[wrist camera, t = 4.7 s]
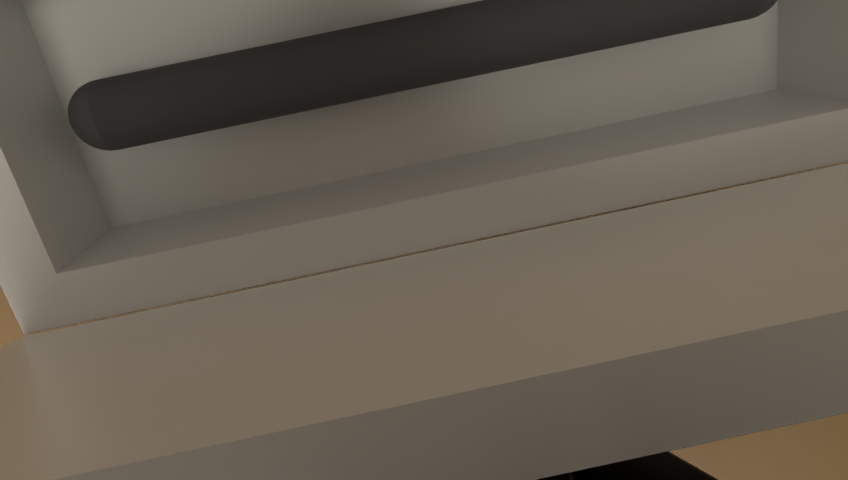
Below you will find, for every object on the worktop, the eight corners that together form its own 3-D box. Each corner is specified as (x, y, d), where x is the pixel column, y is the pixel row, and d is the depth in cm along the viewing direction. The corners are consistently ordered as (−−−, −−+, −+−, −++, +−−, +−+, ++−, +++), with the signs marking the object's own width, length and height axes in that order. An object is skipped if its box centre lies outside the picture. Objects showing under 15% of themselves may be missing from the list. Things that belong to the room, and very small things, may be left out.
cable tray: (803, -214, 15) (950, -289, 11) (795, 118, 18) (911, 148, 14) (-30, -45, 15) (-168, -64, 11) (98, 265, 17) (23, 334, 14)
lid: (1611, 146, 6) (1605, 249, 6) (914, 149, 14) (919, 193, 14) (-507, 599, 6) (-461, 693, 6) (21, 336, 14) (35, 380, 14)
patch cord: (759, -58, 15) (803, -66, 13) (759, 12, 15) (801, 12, 14) (75, 83, 15) (42, 91, 13) (100, 148, 15) (71, 164, 14)
